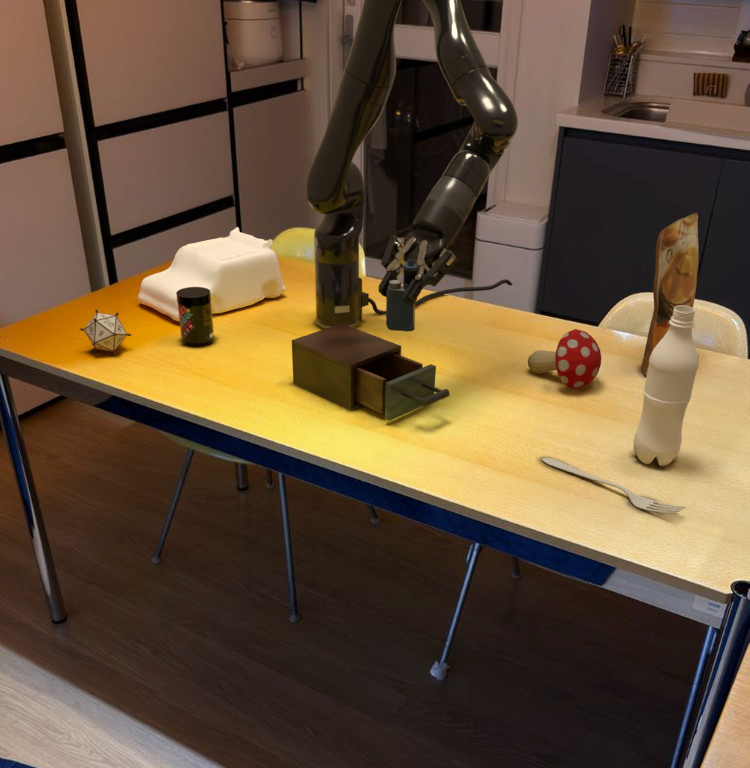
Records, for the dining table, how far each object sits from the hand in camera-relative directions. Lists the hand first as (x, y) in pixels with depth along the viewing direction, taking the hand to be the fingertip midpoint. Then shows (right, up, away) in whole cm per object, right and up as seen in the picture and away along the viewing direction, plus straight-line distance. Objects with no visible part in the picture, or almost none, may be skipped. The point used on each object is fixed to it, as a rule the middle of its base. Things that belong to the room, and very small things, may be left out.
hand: (394, 297), depth 147 cm
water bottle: (+42, -27, -5) cm, 50 cm away
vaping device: (+1, -5, +4) cm, 6 cm away
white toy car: (-40, +12, +55) cm, 69 cm away
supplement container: (-40, -1, +34) cm, 53 cm away
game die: (-57, -4, +30) cm, 64 cm away
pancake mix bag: (+54, -7, +28) cm, 61 cm away
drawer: (0, -17, +9) cm, 19 cm away
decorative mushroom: (+33, -11, +21) cm, 40 cm away
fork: (+32, -32, -13) cm, 47 cm away
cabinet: (-8, -13, +17) cm, 23 cm away
